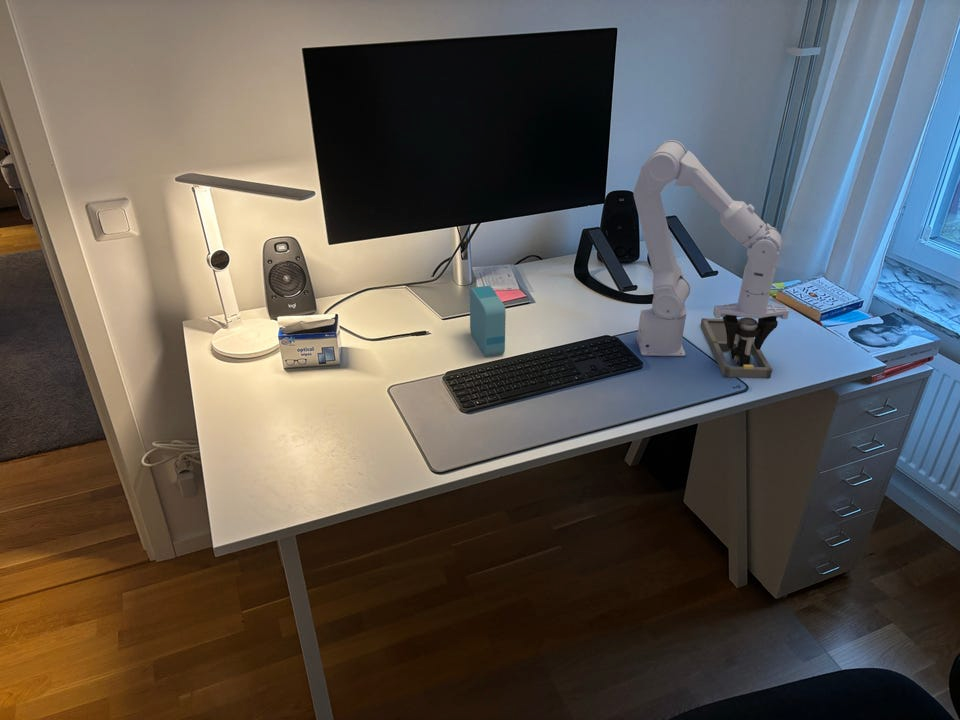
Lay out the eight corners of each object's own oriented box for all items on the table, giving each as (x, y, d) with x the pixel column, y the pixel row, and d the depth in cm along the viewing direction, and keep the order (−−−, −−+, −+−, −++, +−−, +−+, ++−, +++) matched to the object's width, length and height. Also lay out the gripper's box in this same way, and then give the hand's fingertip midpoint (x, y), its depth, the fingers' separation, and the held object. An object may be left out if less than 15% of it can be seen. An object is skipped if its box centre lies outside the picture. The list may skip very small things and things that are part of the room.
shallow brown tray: (723, 377, 151) (725, 366, 150) (700, 326, 170) (702, 316, 169) (770, 378, 151) (772, 367, 150) (741, 326, 170) (743, 316, 169)
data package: (505, 356, 159) (506, 306, 152) (485, 359, 158) (485, 309, 151) (488, 330, 168) (489, 282, 162) (469, 333, 167) (469, 285, 161)
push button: (719, 355, 159) (726, 315, 154) (740, 351, 160) (748, 310, 155) (737, 371, 153) (744, 329, 148) (759, 366, 155) (767, 325, 149)
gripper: (786, 280, 150) (772, 338, 157) (714, 279, 151) (704, 337, 158) (797, 295, 144) (782, 355, 151) (723, 294, 145) (711, 353, 152)
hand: (743, 347), depth 154 cm, fingers closed on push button, 5 cm apart
